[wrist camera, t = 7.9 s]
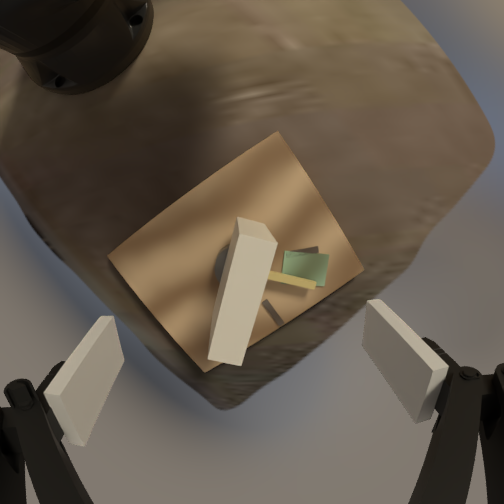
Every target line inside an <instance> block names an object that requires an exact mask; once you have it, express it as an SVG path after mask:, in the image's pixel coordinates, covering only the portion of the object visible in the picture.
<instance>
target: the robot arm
mask: <svg viewBox="0 0 504 504" xmlns="http://www.w3.org/2000/svg"><path fill="white" fill-rule="evenodd" d="M153 17H154V11H153V5H152V2H151V0H0V48H1V49H3V50H5V51H8V52H10V53H12V54H14V55H16V57H17V58H18V60H19V61H20V63H21V64H22V66H23V67H24V69H25V70H26V72H27V73H28V75H29V76H30V78H31V79H32V80H33V81H34V82H35V83H37V84H38V85H39V86H41V87H43V88H45V89H47V90H50V91H52V92H55V93H58V94H65V95H73V94H80V93H84V92H88V91H91V90H93V89H96V88H98V87H100V86H102V85H104V84H106V83H107V82H109V81H110V80H112V79H113V78H115V77H116V76H117V75H119V74H120V73H121V72H122V71H123V70H125V69H126V68H127V67H128V66H129V65H130V64H131V63H132V61H133V60H134V59H135V58H136V57H137V55H138V54H139V53H140V51H141V50H142V48H143V47H144V45H145V43H146V41H147V39H148V37H149V35H150V32H151V29H152V25H153ZM362 346H363V348H364V349H365V351H366V352H367V353H368V355H369V356H370V358H371V359H372V361H373V362H374V363H375V365H376V366H377V368H378V369H379V371H380V372H381V374H382V375H383V377H384V378H385V379H386V381H387V382H388V384H389V385H390V387H391V388H392V389H393V391H394V393H395V394H396V395H397V397H398V398H399V400H400V401H401V403H402V404H403V406H404V407H405V409H406V410H407V412H408V413H409V415H410V416H411V418H412V419H413V421H414V422H415V424H417V423H419V422H423V421H426V420H429V419H431V416H432V414H433V411H434V409H436V411H437V412H438V413H439V415H438V418H437V420H436V423H435V425H434V427H433V430H432V432H433V435H432V438H431V442H430V445H429V448H428V451H427V454H426V458H425V461H424V464H423V466H422V469H421V472H420V475H419V478H418V480H417V483H416V486H415V488H414V491H413V493H412V496H411V498H410V501H409V503H408V504H465V503H466V499H467V495H468V491H469V486H470V481H471V477H472V472H473V466H474V461H475V455H476V448H477V440H478V433H479V435H480V441H481V447H482V454H483V461H484V468H485V476H486V487H487V500H488V504H504V363H502V364H499V365H498V366H497V368H496V369H495V373H494V374H491V375H482V374H481V373H480V372H479V371H478V370H476V369H475V368H472V367H467V366H464V367H460V366H459V365H458V364H457V363H456V362H455V361H454V360H453V359H452V358H451V357H450V356H449V355H448V354H447V353H445V352H444V350H443V349H440V347H439V346H438V345H437V344H436V343H435V342H434V341H432V340H430V339H428V338H426V337H425V338H420V337H419V336H418V335H417V334H416V333H415V332H414V331H413V330H412V329H411V328H410V327H409V326H408V325H407V324H406V323H405V322H404V321H403V320H401V319H400V318H399V317H398V316H397V315H396V314H395V313H394V312H393V311H392V310H391V309H390V308H389V307H388V306H387V305H386V304H385V303H384V302H383V301H381V300H380V299H376V300H367V306H366V316H365V325H364V333H363V341H362ZM123 363H124V357H123V353H122V349H121V345H120V341H119V337H118V333H117V329H116V325H115V320H114V316H100V317H99V319H98V320H97V321H96V323H95V324H94V325H93V326H92V328H91V329H90V330H89V332H88V333H87V334H86V335H85V337H84V338H83V339H82V341H81V342H80V343H79V345H78V346H77V347H76V349H75V350H74V351H73V353H72V354H71V355H70V357H69V358H68V359H67V361H61V362H60V363H58V364H57V365H55V366H54V367H53V368H52V369H51V371H50V372H49V375H47V376H46V378H45V380H43V382H42V383H41V384H40V386H39V387H38V388H37V390H36V391H35V389H34V387H33V385H32V383H31V382H30V381H29V380H27V379H17V380H14V381H12V382H10V383H9V384H8V385H7V386H6V387H5V389H4V394H5V396H6V398H7V400H8V402H9V404H10V406H11V407H4V408H1V407H0V504H27V502H26V488H25V462H26V466H27V469H28V472H29V475H30V478H31V481H32V484H33V487H34V489H35V492H36V495H37V497H38V500H39V503H40V504H94V503H93V502H92V500H91V498H90V497H89V495H88V493H87V491H86V489H85V488H84V486H83V484H82V482H81V480H80V478H79V476H78V474H77V472H76V471H75V468H74V466H73V464H72V463H71V460H70V458H69V456H68V454H67V452H66V450H65V447H64V445H63V444H62V442H61V439H62V437H63V435H65V437H66V439H67V440H68V442H69V443H70V444H73V445H79V446H84V447H85V446H86V443H87V441H88V439H89V436H90V434H91V432H92V429H93V427H94V425H95V422H96V420H97V418H98V416H99V414H100V411H101V409H102V407H103V405H104V403H105V400H106V398H107V396H108V394H109V392H110V390H111V388H112V385H113V383H114V381H115V379H116V377H117V375H118V373H119V371H120V369H121V366H122V365H123Z"/></svg>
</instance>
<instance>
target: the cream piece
mask: <svg viewBox="0 0 504 504" xmlns="http://www.w3.org/2000/svg"><path fill="white" fill-rule="evenodd" d="M277 244H278V243H277V241H276V240H275V238H274V237H273V236H272V234H271V233H270V231H269V230H268V228H267V227H266V225H265V224H264V223H260V222H256V221H252V220H248V219H244V218H240V217H237V219H236V222H235V226H234V230H233V234H232V238H231V242H230V244H228V245H226V246H225V247H223V248H222V249H221V250H220V251H219V253H218V255H217V258H216V263H215V275H216V278H217V280H218V282H219V283H220V285H219V289H218V293H217V297H216V301H215V305H214V309H213V314H212V323H211V331H210V340H209V349H208V358H207V359H209V360H213V361H218V362H223V363H228V364H233V365H238V366H241V365H242V362H243V358H244V355H245V352H246V349H247V345H248V342H249V339H250V336H251V332H252V329H253V326H254V322H255V319H256V316H257V312H258V309H259V306H260V302H261V299H262V296H263V292H264V289H265V286H266V282H267V279H270V280H274V281H278V282H283V283H287V284H291V285H296V286H300V287H305V288H309V289H313V290H314V289H315V286H316V281H313V280H308V279H304V278H300V277H296V276H291V275H287V274H283V273H279V272H274V271H270V269H271V265H272V262H273V258H274V255H275V251H276V248H277Z"/></svg>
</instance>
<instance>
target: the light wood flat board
mask: <svg viewBox="0 0 504 504" xmlns="http://www.w3.org/2000/svg"><path fill="white" fill-rule="evenodd" d="M237 217H240V218H244V219H248V220H252V221H256V222H260V223H264V224H265V225H266V227H267V228H268V230H269V231H270V233H271V234H272V236H273V237H274V238H275V240H276V241H277V243H278V244H277V248H276V251H275V255H274V258H273V262H272V265H271V269H270V271H274V272H279V273H283V274H287V275H291V276H296V277H300V278H304V279H308V280H313V281H316V286H315V289H314V290H313V289H309V288H305V287H300V286H296V285H291V284H287V283H283V282H278V281H274V280H270V279H267V282H266V286H265V289H264V292H263V296H262V299H261V302H260V306H259V309H258V312H257V316H256V319H255V322H254V326H253V329H252V332H251V336H250V339H249V342H248V345H247V348H248V347H249V346H251V345H252V344H254V343H256V342H257V341H259V340H261V339H262V338H264V337H265V336H267V335H269V334H270V333H272V332H273V331H275V330H276V329H278V328H280V327H281V326H283V325H284V324H286V323H287V322H289V321H290V320H292V319H294V318H295V317H297V316H298V315H300V314H301V313H303V312H304V311H306V310H307V309H309V308H310V307H312V306H313V305H315V304H316V303H318V302H319V301H321V300H322V299H323V298H325V297H326V296H328V295H329V294H331V293H332V292H334V291H335V290H337V289H338V288H339V287H341V286H342V285H344V284H345V283H347V282H348V281H349V280H351V279H352V278H354V277H355V276H356V275H358V274H359V273H361V272H362V271H363V270H364V268H363V266H362V265H361V263H360V261H359V259H358V258H357V256H356V254H355V252H354V251H353V249H352V247H351V245H350V244H349V242H348V240H347V238H346V237H345V235H344V233H343V232H342V230H341V228H340V227H339V225H338V223H337V222H336V220H335V218H334V217H333V215H332V213H331V212H330V210H329V208H328V207H327V205H326V204H325V202H324V200H323V199H322V197H321V196H320V194H319V192H318V191H317V189H316V188H315V186H314V184H313V183H312V181H311V180H310V178H309V177H308V175H307V174H306V172H305V171H304V169H303V168H302V166H301V164H300V163H299V161H298V160H297V158H296V157H295V155H294V154H293V152H292V151H291V150H290V148H289V147H288V145H287V144H286V142H285V141H284V139H283V138H282V136H281V135H280V134H279V132H278V131H277V132H275V133H274V134H272V135H271V136H269V137H267V138H266V139H264V140H263V141H261V142H260V143H258V144H257V145H255V146H254V147H252V148H251V149H249V150H248V151H246V152H245V153H243V154H242V155H240V156H239V157H237V158H236V159H234V160H233V161H231V162H230V163H228V164H227V165H226V166H224V167H223V168H221V169H220V170H218V171H217V172H215V173H214V174H213V175H211V176H210V177H208V178H207V179H206V180H204V181H203V182H201V183H200V184H199V185H197V186H196V187H194V188H193V189H192V190H190V191H189V192H188V193H186V194H185V195H184V196H182V197H181V198H180V199H178V200H177V201H175V202H174V203H173V204H172V205H170V206H169V207H168V208H166V209H165V210H164V211H162V212H161V213H160V214H158V215H157V216H156V217H154V218H153V219H152V220H151V221H149V222H148V223H147V224H146V225H144V226H143V227H142V228H140V229H139V230H138V231H137V232H135V233H134V234H133V235H132V236H130V237H129V238H128V239H127V240H125V241H124V242H123V243H122V244H121V245H119V246H118V247H117V248H116V249H115V250H113V251H112V252H111V253H110V254H109V255H107V256H108V258H109V259H110V260H111V262H112V263H113V265H114V266H115V267H116V269H117V270H118V271H119V272H120V274H121V275H122V276H123V278H124V279H125V280H126V282H127V283H128V284H129V285H130V287H131V288H132V289H133V291H134V292H135V293H136V294H137V296H138V297H139V298H140V299H141V301H142V302H143V303H144V304H145V305H146V307H147V308H148V309H149V310H150V312H151V313H152V314H153V315H154V316H155V318H156V319H157V320H158V321H159V322H160V323H161V325H162V326H163V327H164V328H165V329H166V330H167V332H168V333H169V334H170V335H171V336H172V337H173V339H174V340H175V341H176V342H177V343H178V344H179V345H180V346H181V348H182V349H183V350H184V351H185V352H186V353H187V354H188V355H189V356H190V357H191V359H192V360H193V361H194V362H195V363H196V364H197V365H198V366H199V367H200V368H201V369H202V370H203V371H204V372H207V371H209V370H210V369H212V368H214V367H216V366H217V365H219V364H221V363H223V362H218V361H213V360H209V359H207V358H208V349H209V340H210V331H211V323H212V314H213V309H214V305H215V301H216V297H217V293H218V289H219V285H220V283H219V282H218V280H217V278H216V275H215V263H216V258H217V255H218V253H219V251H220V250H221V249H222V248H223V247H225V246H226V245H228V244H230V242H231V238H232V234H233V230H234V226H235V222H236V219H237Z"/></svg>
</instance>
